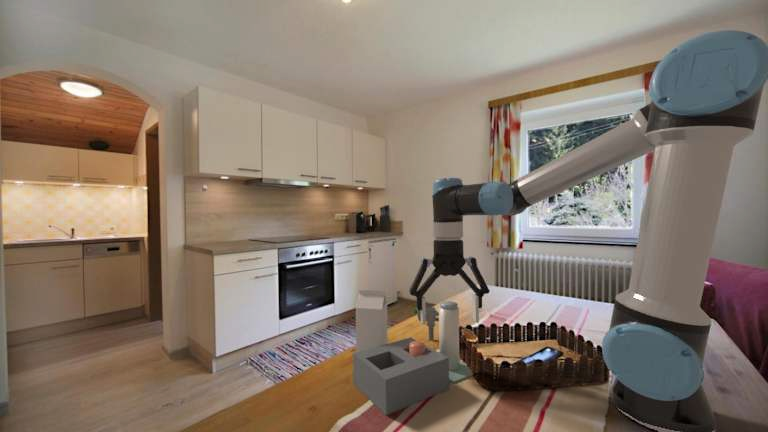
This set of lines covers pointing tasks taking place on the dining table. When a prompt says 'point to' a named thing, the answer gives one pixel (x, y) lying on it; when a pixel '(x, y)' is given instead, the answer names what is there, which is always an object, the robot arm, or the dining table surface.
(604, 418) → the dining table surface
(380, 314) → the milk carton
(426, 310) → the mechanical component
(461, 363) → the mat
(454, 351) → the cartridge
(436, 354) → the housing
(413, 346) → the pink egg shape
